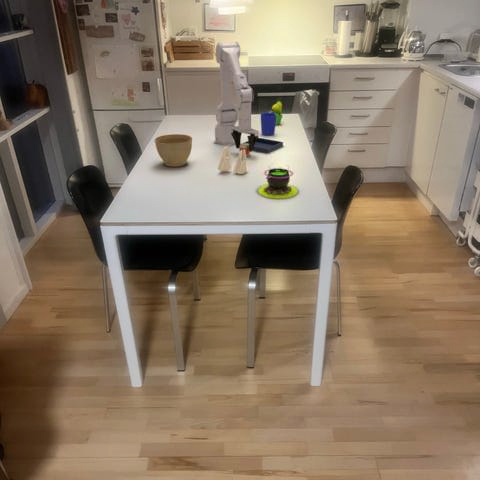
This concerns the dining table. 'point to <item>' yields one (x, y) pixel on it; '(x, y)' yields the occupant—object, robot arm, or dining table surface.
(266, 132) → the mug
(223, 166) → the shaker set
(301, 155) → the dining table surface
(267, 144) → the tray
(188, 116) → the dining table surface
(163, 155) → the planter bowl
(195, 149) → the dining table surface
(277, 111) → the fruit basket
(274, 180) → the toy cauldron
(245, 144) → the tin can
